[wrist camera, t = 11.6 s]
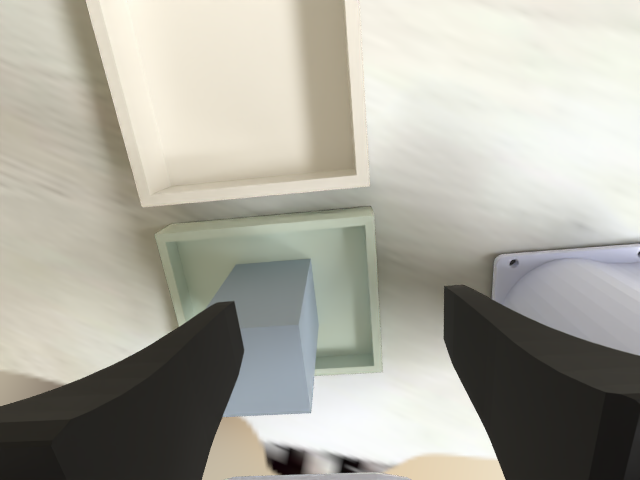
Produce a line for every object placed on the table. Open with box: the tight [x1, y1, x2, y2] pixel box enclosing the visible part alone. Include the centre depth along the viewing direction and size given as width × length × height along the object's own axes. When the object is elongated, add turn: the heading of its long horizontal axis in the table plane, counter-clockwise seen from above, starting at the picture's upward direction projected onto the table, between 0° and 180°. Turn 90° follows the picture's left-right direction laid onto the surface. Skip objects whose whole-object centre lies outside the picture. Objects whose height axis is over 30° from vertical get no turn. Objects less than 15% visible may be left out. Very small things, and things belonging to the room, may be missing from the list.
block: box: [206, 259, 319, 417], centre depth 18 cm, size 4×4×7 cm
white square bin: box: [85, 0, 370, 208], centre depth 17 cm, size 12×12×3 cm
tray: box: [154, 206, 383, 376], centre depth 21 cm, size 12×10×2 cm
